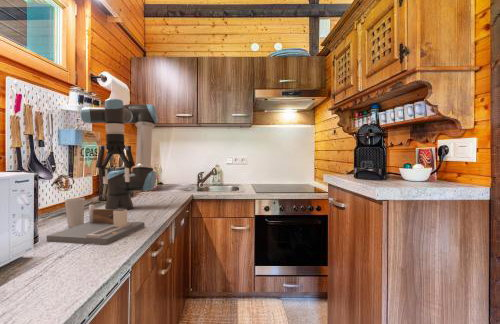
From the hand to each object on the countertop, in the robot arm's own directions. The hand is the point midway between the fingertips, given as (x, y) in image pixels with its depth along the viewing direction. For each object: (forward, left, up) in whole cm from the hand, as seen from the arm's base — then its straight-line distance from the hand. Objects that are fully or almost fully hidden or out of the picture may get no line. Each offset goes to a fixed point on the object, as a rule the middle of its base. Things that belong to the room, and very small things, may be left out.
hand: (116, 182), depth 127 cm
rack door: (+6, -2, -17) cm, 18 cm away
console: (+13, +1, -20) cm, 23 cm away
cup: (+3, -20, -20) cm, 28 cm away
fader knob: (+9, +8, -17) cm, 21 cm away
